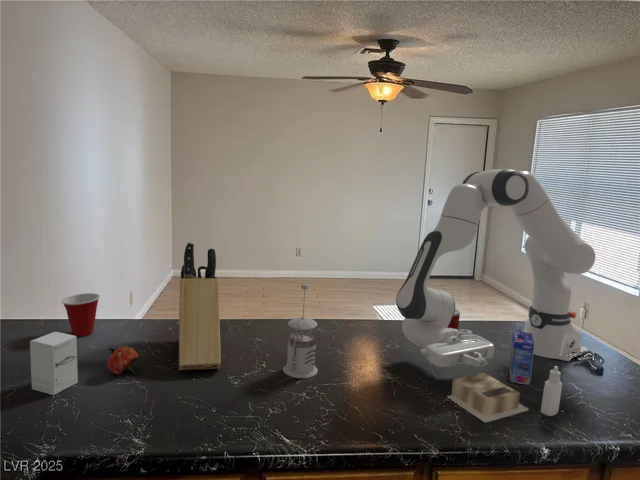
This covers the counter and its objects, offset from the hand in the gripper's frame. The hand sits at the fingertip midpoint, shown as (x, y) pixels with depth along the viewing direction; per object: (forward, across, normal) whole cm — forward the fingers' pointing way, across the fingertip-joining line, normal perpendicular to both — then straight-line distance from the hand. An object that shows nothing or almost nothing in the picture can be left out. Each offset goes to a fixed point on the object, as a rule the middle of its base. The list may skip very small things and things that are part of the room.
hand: (482, 363), depth 124 cm
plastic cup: (-80, -90, +10) cm, 121 cm away
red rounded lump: (-47, -81, +10) cm, 94 cm away
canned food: (-34, +19, +10) cm, 40 cm away
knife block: (-56, -59, +10) cm, 82 cm away
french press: (-31, -37, +10) cm, 49 cm away
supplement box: (-45, -97, +10) cm, 107 cm away
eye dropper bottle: (+12, +12, +10) cm, 20 cm away
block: (-4, 0, +7) cm, 8 cm away
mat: (+3, 0, +10) cm, 10 cm away
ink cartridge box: (-5, +21, +10) cm, 24 cm away
